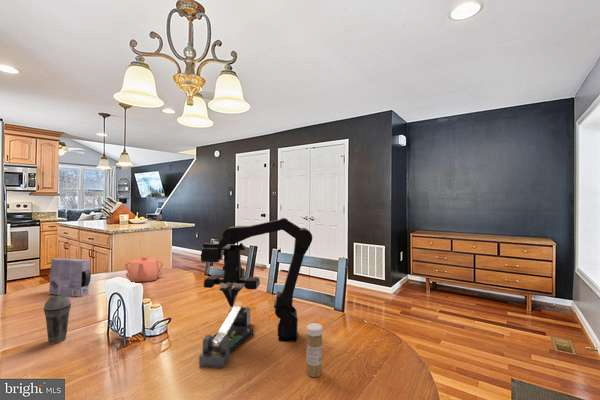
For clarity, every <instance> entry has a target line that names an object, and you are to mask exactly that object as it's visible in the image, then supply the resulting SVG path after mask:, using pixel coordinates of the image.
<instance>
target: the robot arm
mask: <svg viewBox="0 0 600 400" xmlns="http://www.w3.org/2000/svg"><path fill="white" fill-rule="evenodd" d="M278 231H279V232H280V231H284V232H285V233H287V234H288V235H289V236H291V237H292V238H293V239H294V246H293V254H292V257H291V261H290V263H289V268H288V272H287V275H286V278H285V282H284V285H283V288H282V289H281V292H280V291H278V290H277V292H276V297H275V299H274V300H273V301H274V302H273V309H274V313H275V315H276V317H277V318H278V319H279V322H278V324H277V337H278V338H277V340H278V341H280V342H281V341H282V342H297V341H298V337H299V331H298V329H299V327H298V326H299V323H298V322H299V318H298V314H297V309H296V308H295V306H293V301H294V293H295V288H296V285H297V281H298V277H299V274H300V271H301V267H302V264H303V262H304V261H303V259H304V256H305V255H306V253H307V251H308V250H309V248H310V246H311V244H312V242H313V234H312V232H311V230H309V229H308V228H306V227H299V226H298V225H296V224H295V223H293V222H291V221H290V220H288V218H286V217H281V218H280V219H279V218H278V219H275V220H271V221H265V222H263V223H258V224H252V225H235V226H233V225H231V226H230V227H228V228H226V229H225V230H224V231H223V232H222V233H223V234H222V238H221V240H220V241H219V242H218V243H210V242H205V243H203V244H202V249H201V253H200V261H201V263H202V264H203V263H204V264H205V263H206V264H207V263H209V264H211V263H212V264H214V263H216V264H217V263H220V261H222V260H223V266H222V271H223V278H221V276H220V275H210V276H208V277H207V278H205V279H204V281H203V288H205V289H207V288H208V289H212V288H214V286H215V285H220V287H219V291H221V292H222V294H223V296H225V298H226V300H227V302H228V305H229V307H230V308H232V307H233V306H234V304H235V302H236V300H237V297H238V294H239V292H241V290H242V289H243V288H245V289H246V290H253V291H254V290H257V289H258V288H259V286H260V284H261V283H260V281H261V280H260V278H259V277H257V276H248V277H247V278H246V279H243V278H245V273H246V269H245V268H244V267H243V266H242V263H241V251H246V249H247V246H245V244H243V241H245V240H246V239H248V238H249V239H250V238H251V237H256V236H261V235H264V234H271V233H274V232H278ZM239 242H240V243H239ZM237 243H239V244H237ZM228 245H230V246H229V247H227V246H228Z"/></svg>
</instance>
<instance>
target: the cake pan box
mask: <svg viewBox="0 0 600 400" xmlns="http://www.w3.org/2000/svg"><path fill="white" fill-rule="evenodd" d="M90 266H91V260H90V259H78V258H77V259H76V258H63V257H56V258H51V261H50V274H49V277H50V278H49V289H48V291H49V292H48V295H50V294H54V295H58V286H59V281H61V283H60V294H62V295H65V296H67V297H75V296H77V298H82V297H85V296H88V295H89V287H90V286H89V285H90V282H91V279H92V278H91V277H92V276H91V271H90V269H91V268H90ZM87 294H88V295H87ZM54 295H53V296H54ZM84 295H85V296H84Z"/></svg>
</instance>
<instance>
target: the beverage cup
mask: <svg viewBox="0 0 600 400" xmlns="http://www.w3.org/2000/svg"><path fill="white" fill-rule="evenodd" d="M60 283H61V281H59V286H58V295H52V296H50V297H49V298H48V299H47V300H46V302H45V303H44V306H43V312H44V316H45V322H46V331H47V333H46V334H47V340H48V344H49V343H55V344H59V343H58V342H60V343H62V342H64V341H66V339H67V335H68V334H67V333H68V325H69V317H70V312H71V306H72V303H71V300H70V298H69V296H65V295H62V294H60ZM61 341H62V342H61Z"/></svg>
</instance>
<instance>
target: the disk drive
mask: <svg viewBox="0 0 600 400" xmlns="http://www.w3.org/2000/svg"><path fill="white" fill-rule="evenodd" d="M217 333H218V332H216V333H215V334H214V335H212V341H213V340H214V338H215V337H216V335H217ZM253 335H254V327H244V326H238V327H237V326H235V325H233V324H232V326H231V328H230V330H229V332H228V334H227V336H230V341H229V355H232V353H234V352H235V351H237V349H239V347H241V346H242V345H243V344H244V343H246V341H248V340H249V338H251V337H252V336H253ZM212 351H215V352H219V353H221V348H218V347H212Z"/></svg>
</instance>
